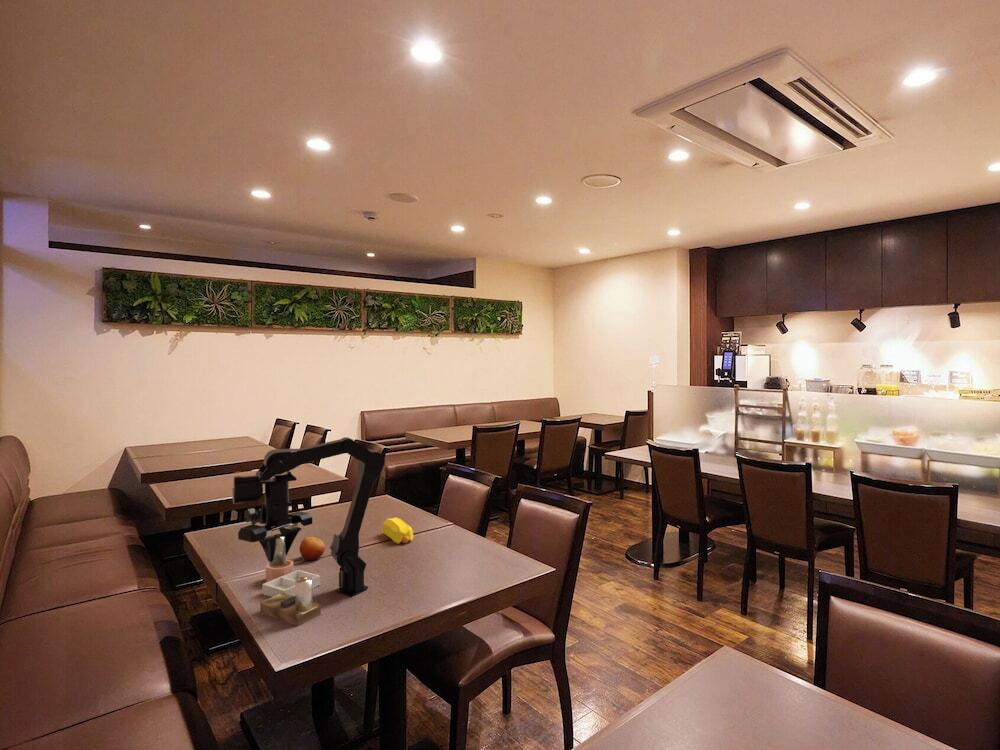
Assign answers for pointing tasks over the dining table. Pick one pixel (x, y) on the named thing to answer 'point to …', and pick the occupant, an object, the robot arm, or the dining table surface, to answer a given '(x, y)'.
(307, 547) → the fruit
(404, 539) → the yellow lump
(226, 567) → the dining table surface
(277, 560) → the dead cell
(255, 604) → the dining table surface
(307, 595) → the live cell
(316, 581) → the trough tray
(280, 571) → the cup
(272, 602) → the cradle
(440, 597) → the dining table surface
